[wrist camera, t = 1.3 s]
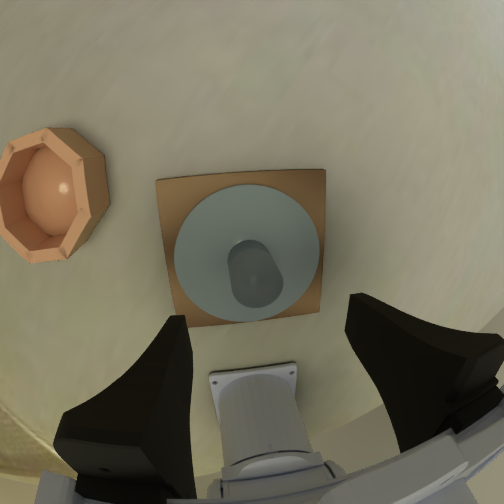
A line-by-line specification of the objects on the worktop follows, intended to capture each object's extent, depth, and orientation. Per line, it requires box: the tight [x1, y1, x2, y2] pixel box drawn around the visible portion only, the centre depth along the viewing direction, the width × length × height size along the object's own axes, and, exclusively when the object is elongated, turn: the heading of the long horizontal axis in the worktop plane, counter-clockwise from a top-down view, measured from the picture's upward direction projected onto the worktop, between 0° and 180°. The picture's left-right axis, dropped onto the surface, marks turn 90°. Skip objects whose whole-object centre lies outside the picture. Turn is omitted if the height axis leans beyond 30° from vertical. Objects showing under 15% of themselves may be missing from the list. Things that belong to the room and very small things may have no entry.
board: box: [155, 169, 326, 328], centre depth 20 cm, size 11×11×1 cm
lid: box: [174, 184, 320, 322], centre depth 17 cm, size 10×10×4 cm
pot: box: [0, 128, 110, 263], centre depth 14 cm, size 8×8×4 cm
